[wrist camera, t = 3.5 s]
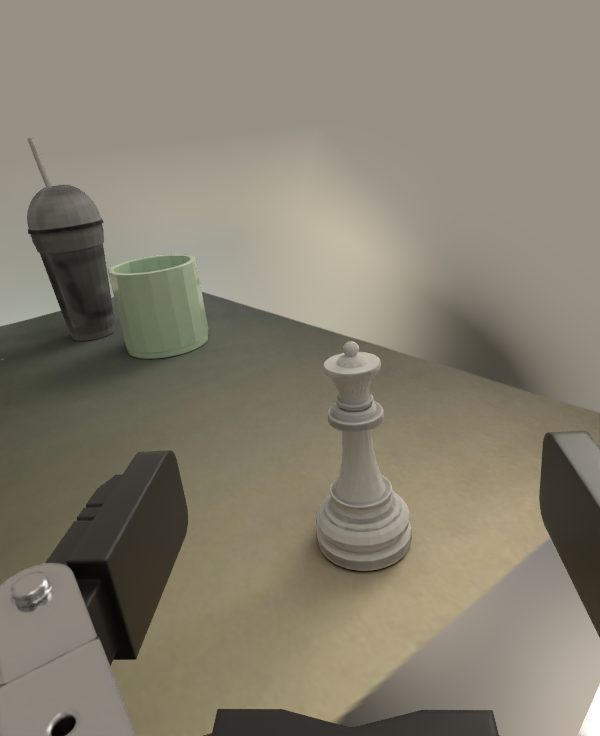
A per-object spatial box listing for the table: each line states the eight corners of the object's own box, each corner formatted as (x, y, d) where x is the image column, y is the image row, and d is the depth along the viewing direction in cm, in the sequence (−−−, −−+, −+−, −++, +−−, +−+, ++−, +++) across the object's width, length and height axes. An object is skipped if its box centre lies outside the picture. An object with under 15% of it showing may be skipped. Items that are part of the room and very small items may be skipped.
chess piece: (354, 500, 29) (341, 318, 26) (429, 531, 27) (426, 333, 23) (299, 547, 27) (274, 350, 23) (376, 588, 24) (362, 371, 20)
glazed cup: (176, 362, 51) (158, 275, 48) (109, 355, 54) (89, 274, 51) (224, 332, 57) (211, 254, 54) (161, 327, 61) (146, 254, 58)
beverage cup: (134, 333, 60) (88, 130, 52) (63, 351, 57) (3, 138, 49) (120, 318, 66) (77, 134, 58) (55, 333, 63) (0, 141, 55)
